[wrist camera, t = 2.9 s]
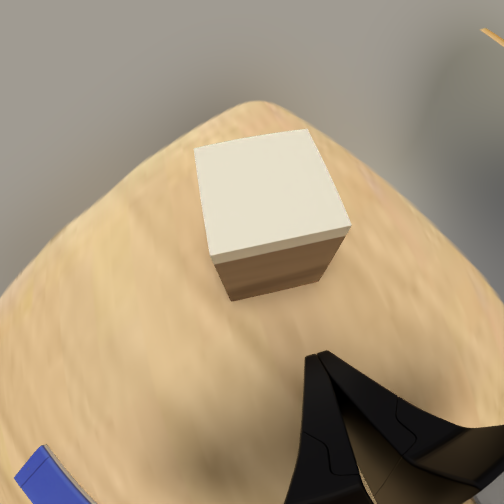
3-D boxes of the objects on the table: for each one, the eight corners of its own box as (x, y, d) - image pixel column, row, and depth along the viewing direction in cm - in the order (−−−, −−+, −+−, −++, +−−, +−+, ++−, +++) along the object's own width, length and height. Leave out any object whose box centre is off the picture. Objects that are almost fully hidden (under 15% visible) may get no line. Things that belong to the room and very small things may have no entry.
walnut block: (318, 281, 19) (351, 225, 11) (231, 301, 18) (209, 255, 11) (294, 207, 21) (307, 128, 14) (215, 223, 21) (193, 148, 13)
